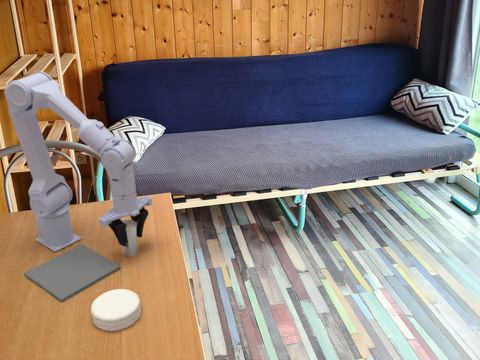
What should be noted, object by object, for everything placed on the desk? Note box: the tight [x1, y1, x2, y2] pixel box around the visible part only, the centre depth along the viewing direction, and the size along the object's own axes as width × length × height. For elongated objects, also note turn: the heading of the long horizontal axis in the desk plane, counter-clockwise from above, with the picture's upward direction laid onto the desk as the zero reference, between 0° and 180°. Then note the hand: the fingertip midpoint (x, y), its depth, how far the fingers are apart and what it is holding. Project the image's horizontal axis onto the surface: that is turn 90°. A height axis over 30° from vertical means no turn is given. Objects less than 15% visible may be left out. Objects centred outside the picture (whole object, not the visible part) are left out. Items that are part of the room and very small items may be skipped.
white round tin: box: [90, 288, 142, 332], centre depth 106 cm, size 10×10×4 cm
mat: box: [23, 243, 122, 303], centre depth 121 cm, size 16×16×1 cm
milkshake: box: [122, 218, 139, 257], centre depth 125 cm, size 4×5×10 cm
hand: (130, 240), depth 126 cm, fingers closed on milkshake, 4 cm apart
